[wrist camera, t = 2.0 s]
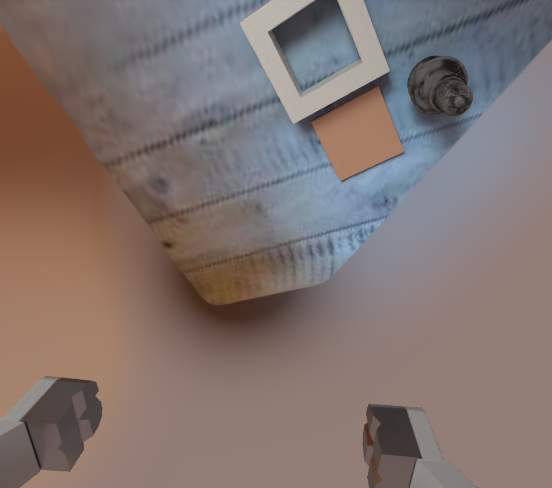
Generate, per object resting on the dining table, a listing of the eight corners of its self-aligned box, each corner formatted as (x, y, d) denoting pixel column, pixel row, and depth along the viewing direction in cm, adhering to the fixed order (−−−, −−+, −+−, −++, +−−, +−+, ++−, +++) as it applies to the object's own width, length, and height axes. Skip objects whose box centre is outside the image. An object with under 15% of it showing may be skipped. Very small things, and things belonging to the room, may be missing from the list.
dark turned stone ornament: (406, 112, 44) (428, 143, 34) (403, 60, 41) (426, 78, 31) (457, 100, 42) (496, 129, 33) (458, 46, 39) (501, 60, 30)
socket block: (342, -48, 36) (344, -52, 33) (385, 66, 41) (389, 71, 38) (245, 21, 41) (239, 23, 38) (295, 116, 46) (293, 124, 43)
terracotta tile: (377, 85, 43) (378, 86, 42) (403, 150, 46) (404, 151, 46) (311, 121, 46) (310, 122, 45) (340, 179, 50) (340, 180, 49)
